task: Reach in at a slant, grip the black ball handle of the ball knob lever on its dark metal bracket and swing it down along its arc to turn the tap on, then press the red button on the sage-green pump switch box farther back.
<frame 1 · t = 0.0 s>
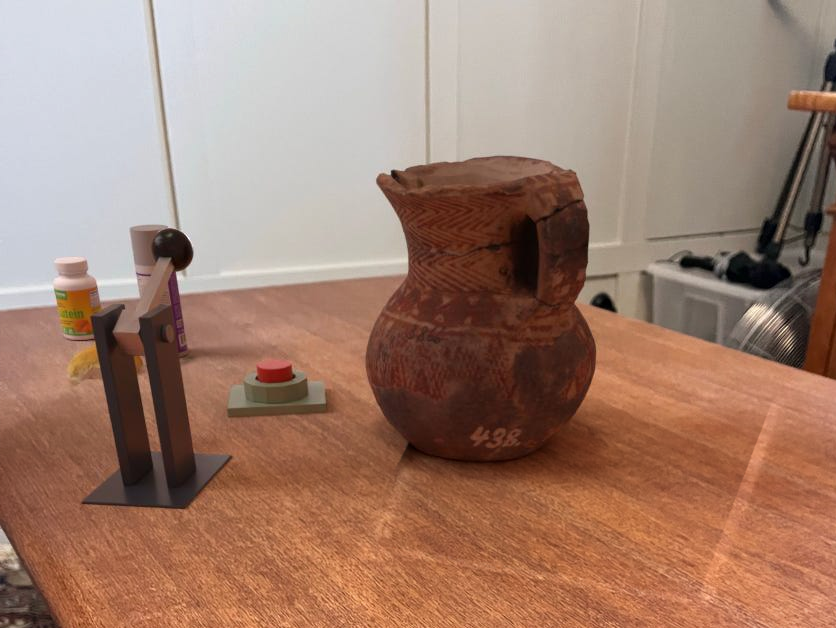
ball knob lever: (155, 288, 86), point 16 cm above the table, hinge at 25.0°
supplement bottle: (85, 337, 136), on the table
container: (169, 355, 128), on the table
tap bracket: (163, 492, 90), on the table
jug: (480, 440, 102), on the table
switch box: (279, 414, 108), on the table
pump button: (274, 372, 106), point 4 cm above the table, slide at 0.1 cm
yellow curved piece: (108, 380, 119), on the table
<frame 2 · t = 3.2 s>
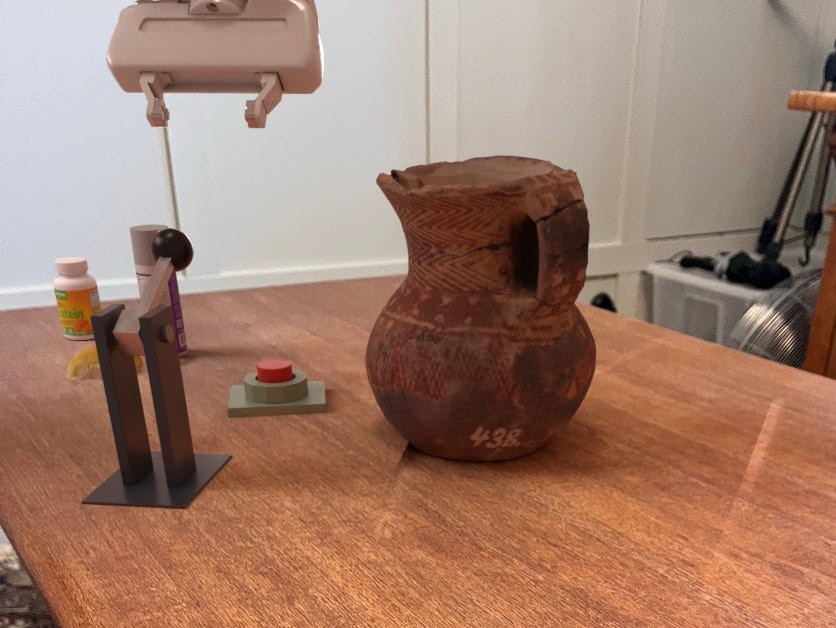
hand: (205, 123, 94), 28 cm above the table, tool tilted 45°, fingers open, 8 cm apart
nothing on the table moved.
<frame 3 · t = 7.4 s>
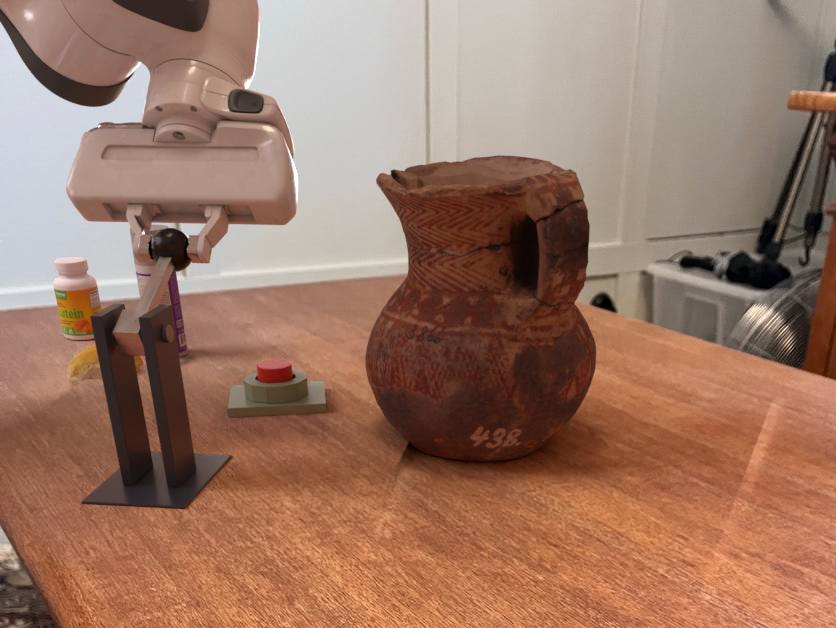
hand: (171, 258, 88), 18 cm above the table, tool tilted 45°, fingers closed on ball knob lever, 3 cm apart
ball knob lever: (155, 288, 86), point 16 cm above the table, hinge at 25.0°, touching gripper
everything else where it was.
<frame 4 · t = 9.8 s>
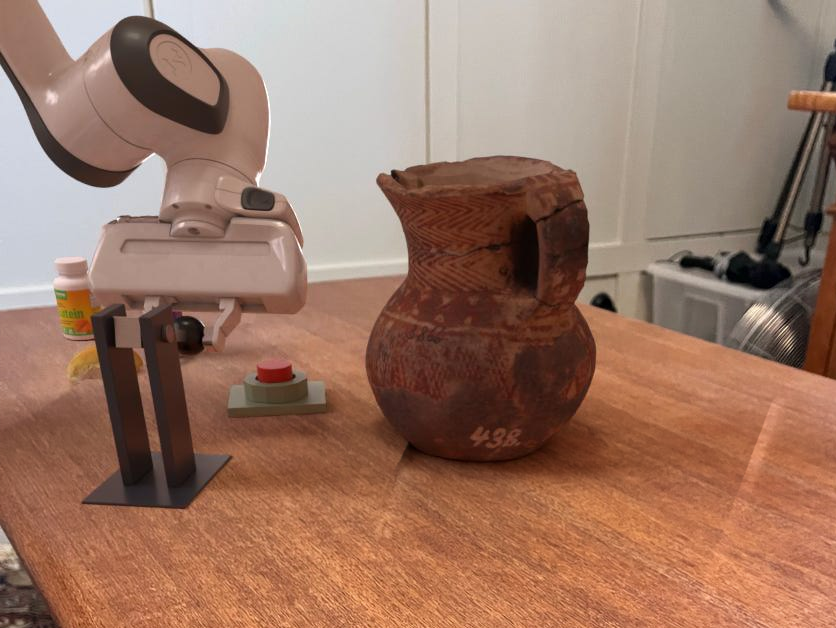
hand: (187, 348, 93), 10 cm above the table, tool tilted 45°, fingers closed on ball knob lever, 3 cm apart
ball knob lever: (164, 334, 88), point 12 cm above the table, hinge at -15.7°, touching gripper
everything else where it was.
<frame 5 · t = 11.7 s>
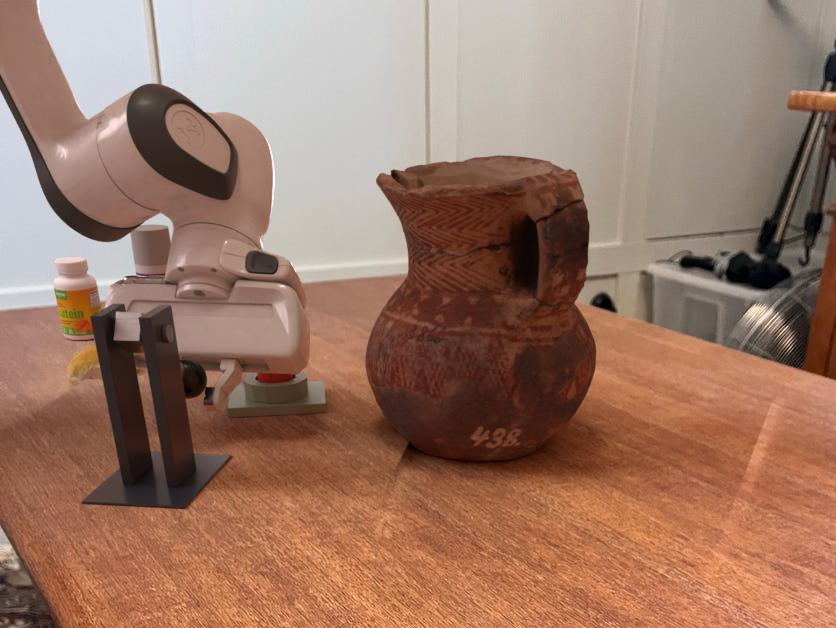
hand: (191, 408, 95), 5 cm above the table, tool tilted 45°, fingers open, 3 cm apart
ball knob lever: (163, 358, 88), point 11 cm above the table, hinge at -35.9°, touching gripper
everything else where it was.
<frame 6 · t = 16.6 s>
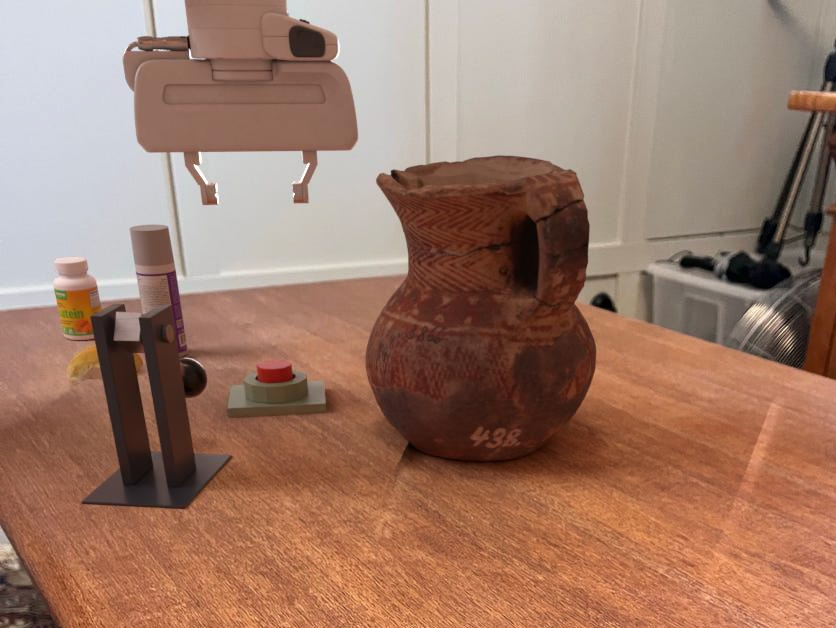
hand: (256, 203, 98), 21 cm above the table, tool pointing down, fingers open, 7 cm apart
ball knob lever: (163, 357, 88), point 11 cm above the table, hinge at -35.5°
everything else where it was.
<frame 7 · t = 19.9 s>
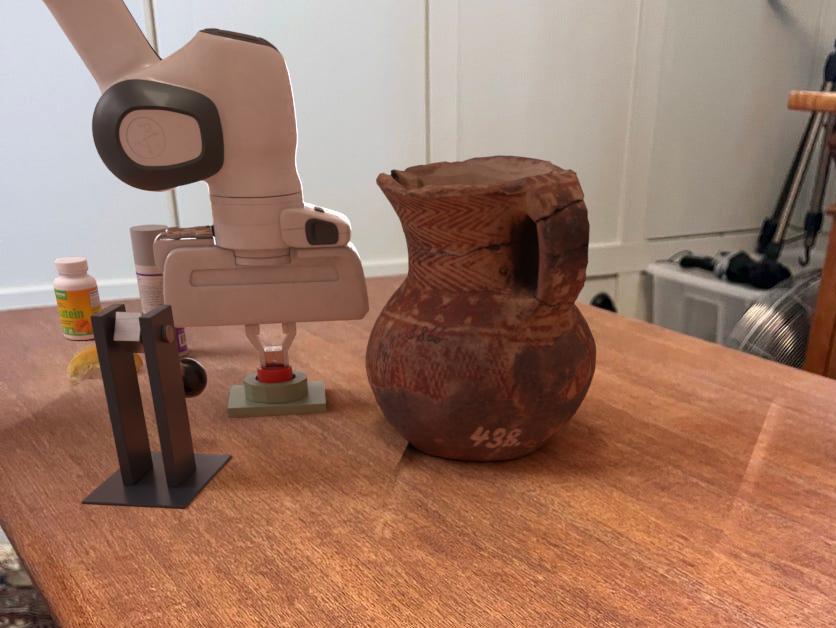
hand: (275, 365, 105), 5 cm above the table, tool pointing down, fingers closed, pressing on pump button
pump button: (275, 374, 106), point 4 cm above the table, slide at -0.1 cm, touching gripper
everything else where it was.
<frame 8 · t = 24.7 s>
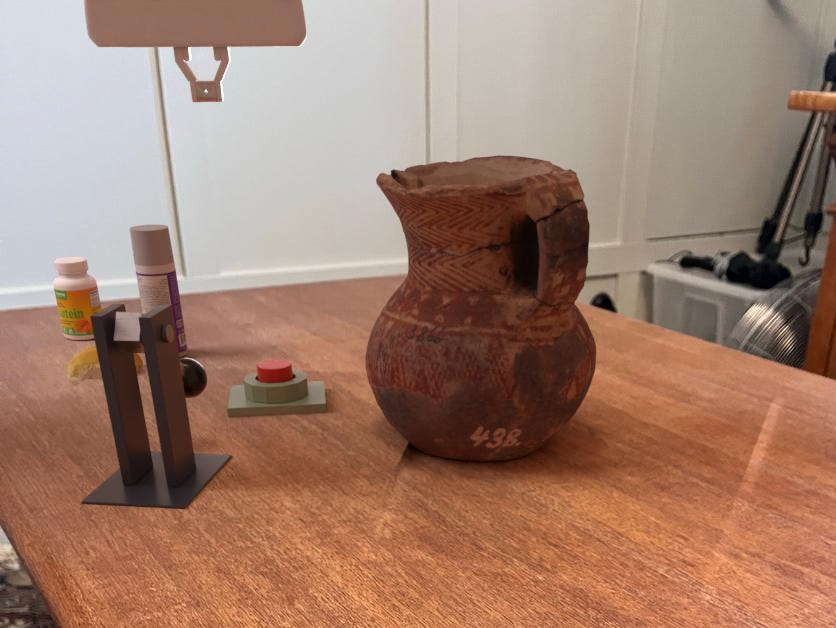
hand: (208, 101, 99), 29 cm above the table, tool pointing down, fingers closed
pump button: (274, 372, 106), point 4 cm above the table, slide at 0.1 cm
everything else where it was.
at the end: ball knob lever at -36° (first picture: +25°); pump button pushed in 1.0 cm at the most during the clip, back to where it started at the end; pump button slide at 0.1 cm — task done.
